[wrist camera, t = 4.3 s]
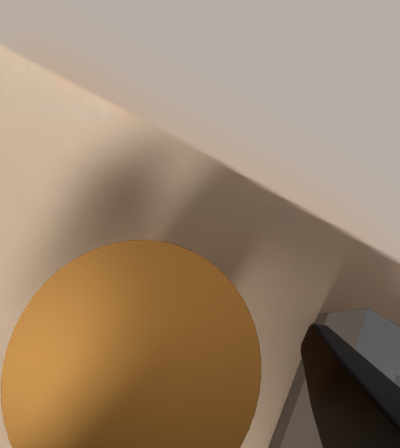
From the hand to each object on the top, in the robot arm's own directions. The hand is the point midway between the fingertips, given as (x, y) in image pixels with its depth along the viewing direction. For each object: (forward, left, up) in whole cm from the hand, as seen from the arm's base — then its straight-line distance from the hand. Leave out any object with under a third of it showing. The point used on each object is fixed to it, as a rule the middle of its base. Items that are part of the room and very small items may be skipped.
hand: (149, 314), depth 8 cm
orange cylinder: (0, -1, -7) cm, 7 cm away
